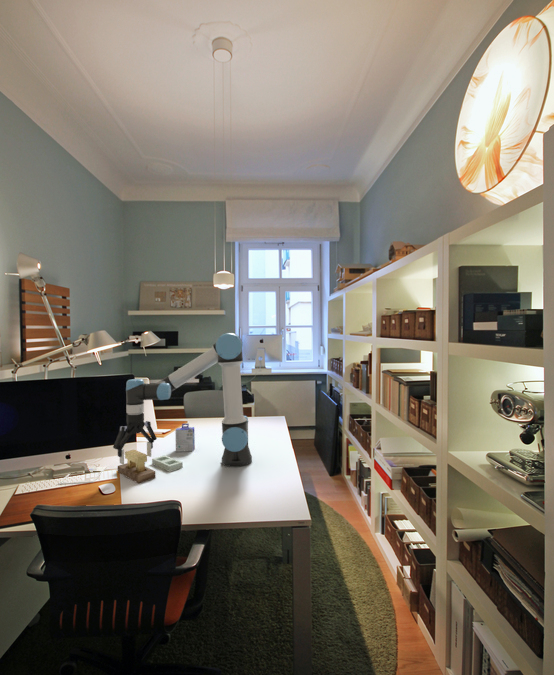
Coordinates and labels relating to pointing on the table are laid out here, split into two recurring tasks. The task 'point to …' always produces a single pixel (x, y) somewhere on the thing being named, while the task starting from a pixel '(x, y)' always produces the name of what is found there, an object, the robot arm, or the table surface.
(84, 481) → the photo frame
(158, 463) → the holder block
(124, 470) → the walnut rail
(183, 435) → the ink cartridge box
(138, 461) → the tan block
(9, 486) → the table surface
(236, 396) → the robot arm
